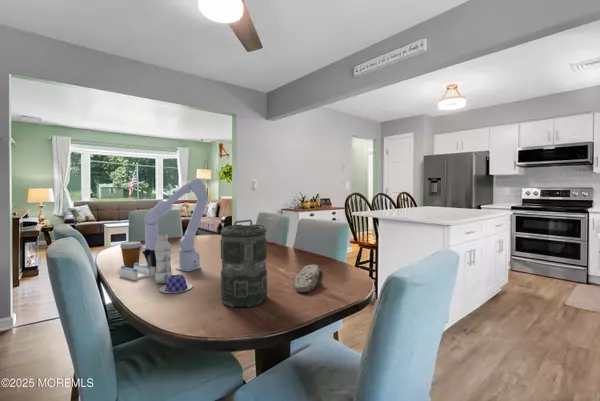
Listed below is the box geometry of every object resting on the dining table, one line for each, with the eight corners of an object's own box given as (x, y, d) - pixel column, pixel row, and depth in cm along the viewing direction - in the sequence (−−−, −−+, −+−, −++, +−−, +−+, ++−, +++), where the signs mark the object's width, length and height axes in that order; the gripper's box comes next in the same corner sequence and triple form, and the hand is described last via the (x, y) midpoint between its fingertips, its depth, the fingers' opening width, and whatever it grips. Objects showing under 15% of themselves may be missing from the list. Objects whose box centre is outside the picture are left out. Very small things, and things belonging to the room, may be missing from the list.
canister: (246, 289, 119) (246, 217, 118) (276, 298, 109) (275, 219, 108) (211, 301, 107) (210, 220, 105) (241, 312, 96) (240, 224, 95)
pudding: (156, 288, 121) (156, 275, 121) (187, 282, 128) (187, 270, 128) (163, 297, 112) (163, 282, 111) (196, 290, 119) (196, 277, 119)
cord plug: (157, 269, 145) (157, 254, 145) (151, 270, 142) (151, 255, 142) (153, 268, 147) (153, 254, 146) (147, 270, 144) (147, 255, 144)
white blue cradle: (168, 271, 145) (167, 262, 145) (134, 280, 131) (134, 269, 131) (153, 268, 151) (152, 259, 151) (119, 276, 138) (119, 266, 137)
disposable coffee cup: (135, 268, 150) (134, 244, 150) (116, 268, 150) (115, 244, 150) (145, 264, 160) (145, 241, 159) (127, 264, 160) (127, 241, 160)
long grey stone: (323, 272, 147) (302, 273, 149) (322, 261, 147) (302, 262, 149) (317, 293, 112) (290, 294, 114) (316, 279, 113) (289, 279, 114)
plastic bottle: (166, 285, 124) (165, 236, 123) (151, 284, 125) (150, 236, 124) (175, 281, 130) (174, 234, 129) (161, 280, 131) (160, 233, 131)
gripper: (134, 236, 144) (135, 265, 145) (152, 239, 137) (153, 269, 137) (149, 234, 150) (149, 262, 151) (167, 237, 143) (167, 266, 143)
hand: (152, 265), depth 144 cm, fingers closed on cord plug, 3 cm apart
